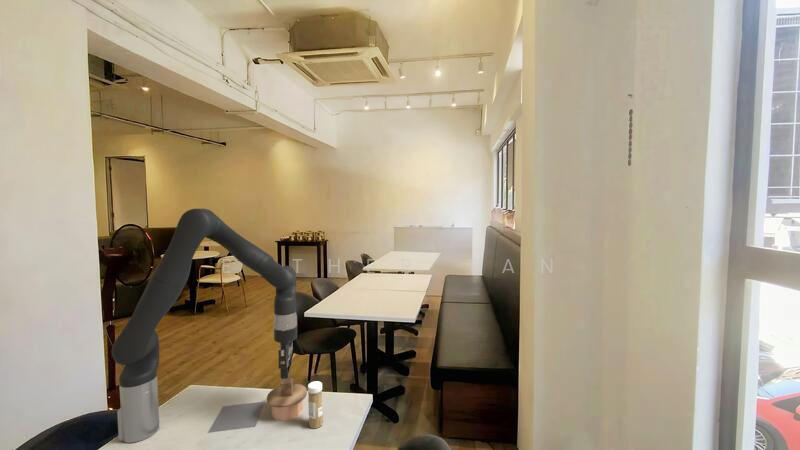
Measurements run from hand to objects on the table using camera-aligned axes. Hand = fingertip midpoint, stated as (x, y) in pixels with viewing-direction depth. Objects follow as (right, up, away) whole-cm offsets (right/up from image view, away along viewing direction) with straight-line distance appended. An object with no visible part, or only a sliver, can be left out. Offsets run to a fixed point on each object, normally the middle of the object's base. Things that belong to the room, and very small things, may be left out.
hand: (286, 371), depth 112 cm
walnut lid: (0, -9, 0) cm, 9 cm away
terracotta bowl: (0, -15, +1) cm, 15 cm away
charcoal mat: (-16, -15, -2) cm, 21 cm away
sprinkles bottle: (+12, -15, -6) cm, 20 cm away
